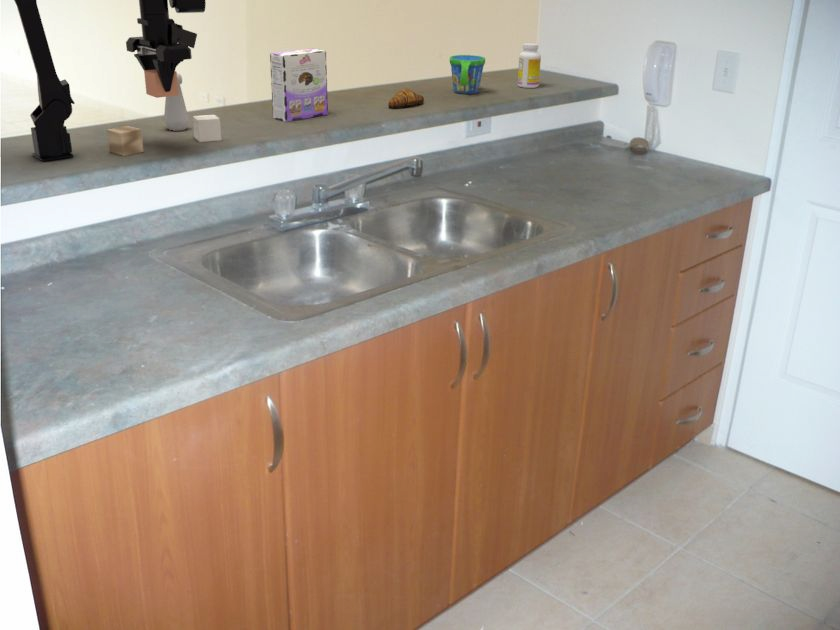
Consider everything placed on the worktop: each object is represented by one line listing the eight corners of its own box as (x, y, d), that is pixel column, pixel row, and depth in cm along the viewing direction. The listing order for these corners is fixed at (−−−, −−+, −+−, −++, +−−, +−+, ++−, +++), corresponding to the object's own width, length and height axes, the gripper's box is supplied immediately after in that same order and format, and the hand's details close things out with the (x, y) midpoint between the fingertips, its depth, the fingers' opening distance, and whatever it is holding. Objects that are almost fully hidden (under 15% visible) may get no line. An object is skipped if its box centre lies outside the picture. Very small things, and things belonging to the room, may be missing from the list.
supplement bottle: (542, 86, 277) (545, 44, 271) (533, 89, 271) (536, 46, 266) (523, 84, 280) (525, 42, 275) (513, 87, 275) (516, 44, 269)
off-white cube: (199, 142, 200) (197, 120, 198) (194, 137, 204) (192, 116, 202) (221, 140, 202) (219, 118, 200) (215, 135, 206) (214, 114, 204)
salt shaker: (175, 133, 208) (169, 76, 203) (159, 129, 211) (154, 73, 206) (194, 128, 212) (190, 73, 207) (179, 125, 215) (174, 70, 210)
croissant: (413, 101, 251) (413, 83, 249) (431, 105, 247) (431, 87, 245) (380, 108, 241) (380, 89, 239) (398, 111, 237) (398, 93, 235)
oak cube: (123, 156, 187) (120, 133, 185) (110, 152, 190) (107, 129, 188) (143, 152, 191) (141, 129, 189) (130, 148, 194) (127, 125, 192)
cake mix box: (314, 111, 234) (312, 47, 227) (328, 115, 230) (327, 50, 223) (271, 118, 225) (268, 51, 218) (285, 122, 221) (283, 54, 214)
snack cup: (478, 98, 256) (480, 62, 252) (443, 95, 259) (444, 60, 255) (488, 89, 270) (489, 54, 266) (454, 87, 273) (455, 53, 268)
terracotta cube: (157, 97, 187) (154, 73, 185) (146, 94, 191) (144, 70, 189) (178, 95, 190) (176, 71, 188) (167, 91, 194) (165, 68, 192)
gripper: (211, 15, 182) (217, 92, 189) (169, 8, 195) (176, 80, 201) (161, 18, 176) (168, 98, 182) (121, 10, 188) (129, 85, 195)
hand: (162, 89), depth 190 cm, fingers closed on terracotta cube, 5 cm apart
